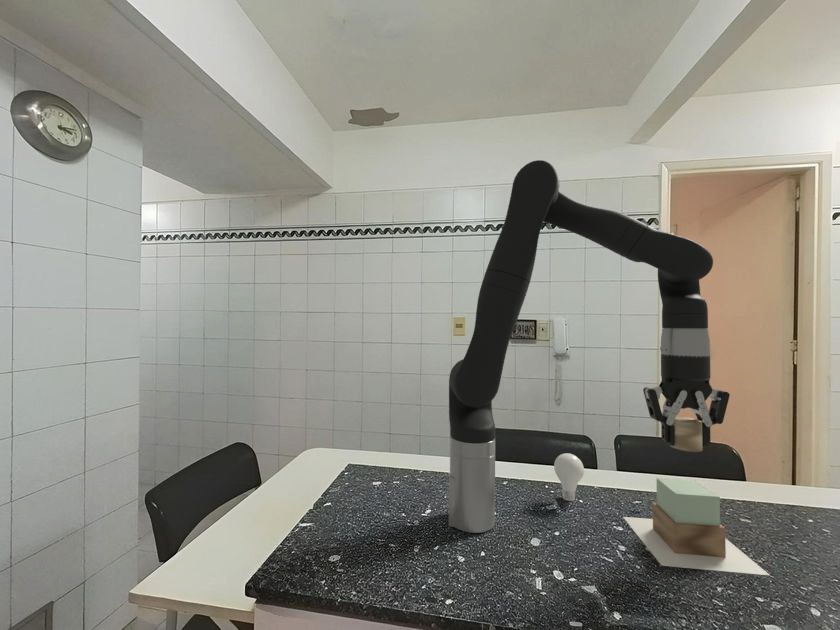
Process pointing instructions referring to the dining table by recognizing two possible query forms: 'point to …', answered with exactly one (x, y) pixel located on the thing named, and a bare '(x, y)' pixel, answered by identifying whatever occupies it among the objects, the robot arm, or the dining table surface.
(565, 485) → the lightbulb
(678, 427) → the birch cylinder
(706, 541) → the walnut block
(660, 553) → the base board
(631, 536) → the dining table surface
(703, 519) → the sage block
